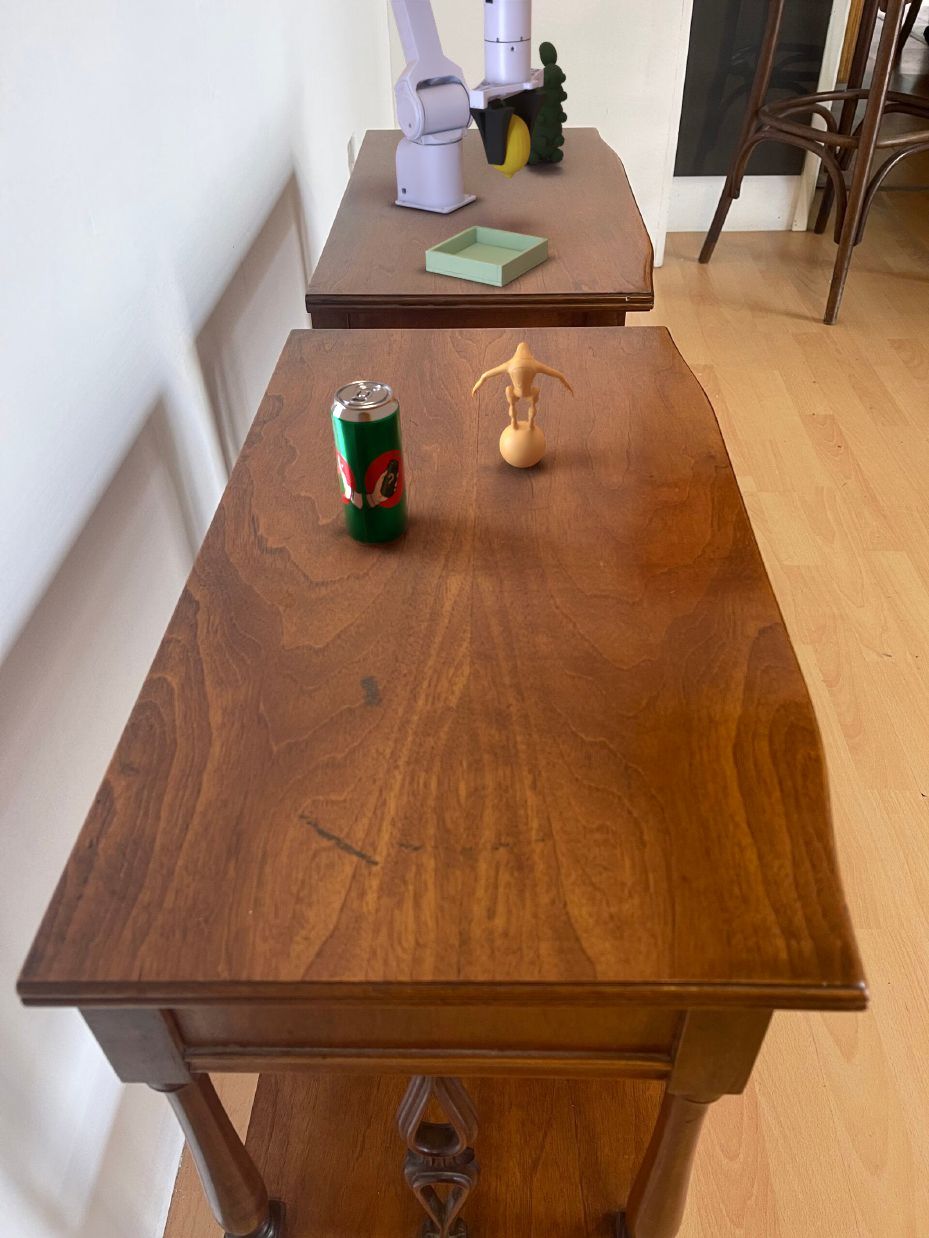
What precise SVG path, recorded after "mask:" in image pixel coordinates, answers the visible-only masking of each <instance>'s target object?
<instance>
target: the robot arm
mask: <svg viewBox="0 0 929 1238" xmlns="http://www.w3.org/2000/svg"><path fill="white" fill-rule="evenodd" d="M532 1H533V0H483V32H484V33H483V38H484V39H483V43H484V44H483V46H484V47H483V49H484V54H483V55H484V78H483V80H482V81H480V82H479V83H478V84H477V85H476V86H475V87H473V88H471V89H470V87H469V86H468V84H467V82H466V79H465V76H464V72H463V69H462V67H461V66H459V65H458V64H457V63H455V62H454V61H452V60H451V59H449V58H448V57H447V56H446V55H445V54H444V52H443V48H442V44H441V39H440V36H439V31H438V27H437V23H436V20H435V16H434V15H435V14H434V12H433V11H434V10H433V8H432V3H431V0H389V2H390V6H391V9H392V14H393V18H394V21H395V25H396V29H397V33H398V37H399V42H400V43H401V44H400V45H401V48H402V53H403V56H404V60H405V64H406V66H405V68H404V69H403V71H401V74H400V75H399V77H398V78H397V79H396V81H395V84H394V86H393V90H394V94H395V100H396V117H397V123H398V125H399V127H400V129H401V131H402V133H403V134H404V136H403V137H402V138H401V139H400V140H399V142H398V143H397V146H396V151H395V157H394V159H395V173H396V186H397V187H396V188H397V199H396V200H395V201H394V204H395V205H397V206H402V207H408V208H413V209H419V210H424V211H430V212H436V213H442V214H449V213H451V212H453V211H456V210H457V209H459V208H461V207H463V206H465V205H467V204H469V203H471V202H474V201H476V200H477V196H476V195H473V194H469V193H468V194H467V193H465V178H464V177H465V176H464V175H465V173H464V148H463V146H464V145H463V143H464V142H463V140H464V139H463V138H465V137H467V136H468V129H470V128H471V126H472V124H473V121H474V122H475V125H476V127H477V129H478V132H479V135H480V137H481V142H482V145H483V148H484V153H485V157H486V161H487V164H488V165H492V166H493V165H499V166H502V165H504V162H505V157H506V147H507V135H508V129H509V125H510V121H511V118H512V115H513V114H514V115H517V116H518V117H520V118H521V119H522V120H523V121H524V122H525V124H526V125H527V128H528V131H529V135H530V143H531V138H532V134H533V130H534V126H535V122H536V119H537V116H538V114H539V111H540V109H541V107H542V105H543V103H544V101H545V99H546V92H545V91H538V90H535V88H536V87H542V86H543V78H544V70H543V68H533V67H532V7H533V6H532V3H533V2H532ZM502 99H503V101H504V103H505V106H503V103H502V104H501V100H502Z"/></svg>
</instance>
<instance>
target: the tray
mask: <svg viewBox="0 0 929 1238" xmlns="http://www.w3.org/2000/svg"><path fill="white" fill-rule="evenodd" d="M424 252H425V270H426V271H427V272H430V273H436V274H440V275H445V276H449V277H455V278H459V279H462V280H468V281H471V282H472V281H473V282H477V283H481V284H482V283H483V284H487V285H491V286H496V287H500V288H501V287H502V288H503V287H504V286H505V285H507V284H509V283H511V282H512V281H514V280H515V279H517V278H519V277H520V276H522V275H524V274H525V273H527V272H528V271H530V270H532V269H533V268H536V267H537V266H538V265H540V264H542V263H543V262H545V261H547V260H548V259H549V238H545V237H541V236H535V235H529V234H524V233H519V232H513V231H509V230H503V229H497V228H492V227H486V226H481V225H476V224H475V225H472V226H471V227H469V228H466V229H465V230H463V231H461V232H459V233H457V234H454V235H453V236H451V237H449V238H448V239H447V238H446V239H445V240H443V241H442V242H440V243H438V244H436V245H434V246H432V247H430V248H428V249H426V250H425V251H424Z"/></svg>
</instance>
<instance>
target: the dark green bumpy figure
mask: <svg viewBox="0 0 929 1238" xmlns="http://www.w3.org/2000/svg"><path fill="white" fill-rule="evenodd" d="M538 54H539V59H540V61H541V64H542V65H543V68H542V69H543V70H544V78H543V86H542V87H536V88H535V90H538V91H545V92H546V99H545V101H544V103H543V105H542V107H541V109H540V111H539V114H538V116H537V119H536V122H535V126H534V130H533V134H532V138H531V143H530V154H529V158H528V161H527V163H526V164H528V163H529V164H530V165H536V164H539V162H542V161H546V160H549V162H554V163H560V162H561V161H563V159H564V151H563V150H562V149H560V147H562V146H564V144H565V141H566V139H565V137H564V135H563V124H565V123H567V121H568V115H567V113H566V112H565V111H564V108H563V104H562V103H563V102H565V101H567V100H568V93H567V91H565V90H564V87H563V85H562V84H563V83H565V82H566V81H567V76H566V73H564V72H563V69H562V68H561V67H560V66H559V65H558V64H557V61H558V52H557V49H556V47H555V45H554V44H553V43H552V42H550V41H543V42H541V43H540V45H539V46H538ZM502 103H503V106H505V103H504V101H503V99H502V100H501V104H502Z"/></svg>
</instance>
